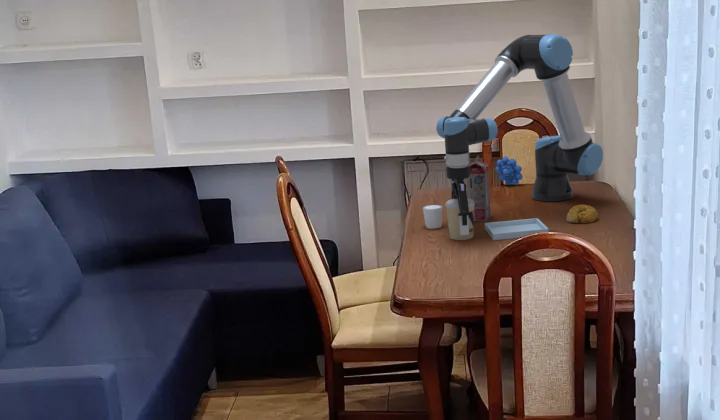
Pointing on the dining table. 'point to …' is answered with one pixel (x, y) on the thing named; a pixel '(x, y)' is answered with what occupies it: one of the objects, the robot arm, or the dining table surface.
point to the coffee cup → (454, 219)
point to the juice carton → (479, 189)
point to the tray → (514, 228)
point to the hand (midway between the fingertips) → (461, 229)
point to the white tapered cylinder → (433, 216)
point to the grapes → (509, 171)
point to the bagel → (582, 214)
